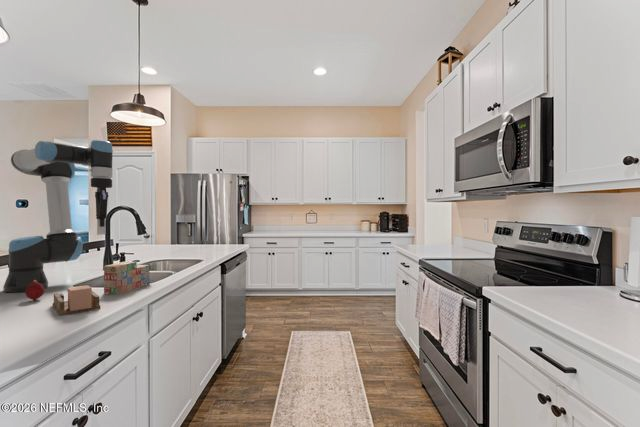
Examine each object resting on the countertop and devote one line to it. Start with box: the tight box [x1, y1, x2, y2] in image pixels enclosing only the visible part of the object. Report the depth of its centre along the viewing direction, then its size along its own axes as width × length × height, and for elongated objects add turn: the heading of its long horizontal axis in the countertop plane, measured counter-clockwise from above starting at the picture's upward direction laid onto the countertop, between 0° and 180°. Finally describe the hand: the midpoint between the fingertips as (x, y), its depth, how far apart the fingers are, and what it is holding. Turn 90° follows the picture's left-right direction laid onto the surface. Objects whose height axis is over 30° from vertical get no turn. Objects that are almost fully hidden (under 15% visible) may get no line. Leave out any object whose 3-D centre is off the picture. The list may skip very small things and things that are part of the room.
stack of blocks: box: [103, 261, 151, 295], centre depth 152 cm, size 21×6×12 cm, turn 171°
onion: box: [24, 280, 46, 301], centre depth 131 cm, size 6×6×8 cm
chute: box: [52, 290, 101, 317], centre depth 123 cm, size 16×12×4 cm
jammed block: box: [67, 285, 93, 311], centre depth 118 cm, size 6×6×7 cm
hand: (101, 234), depth 139 cm, fingers closed
